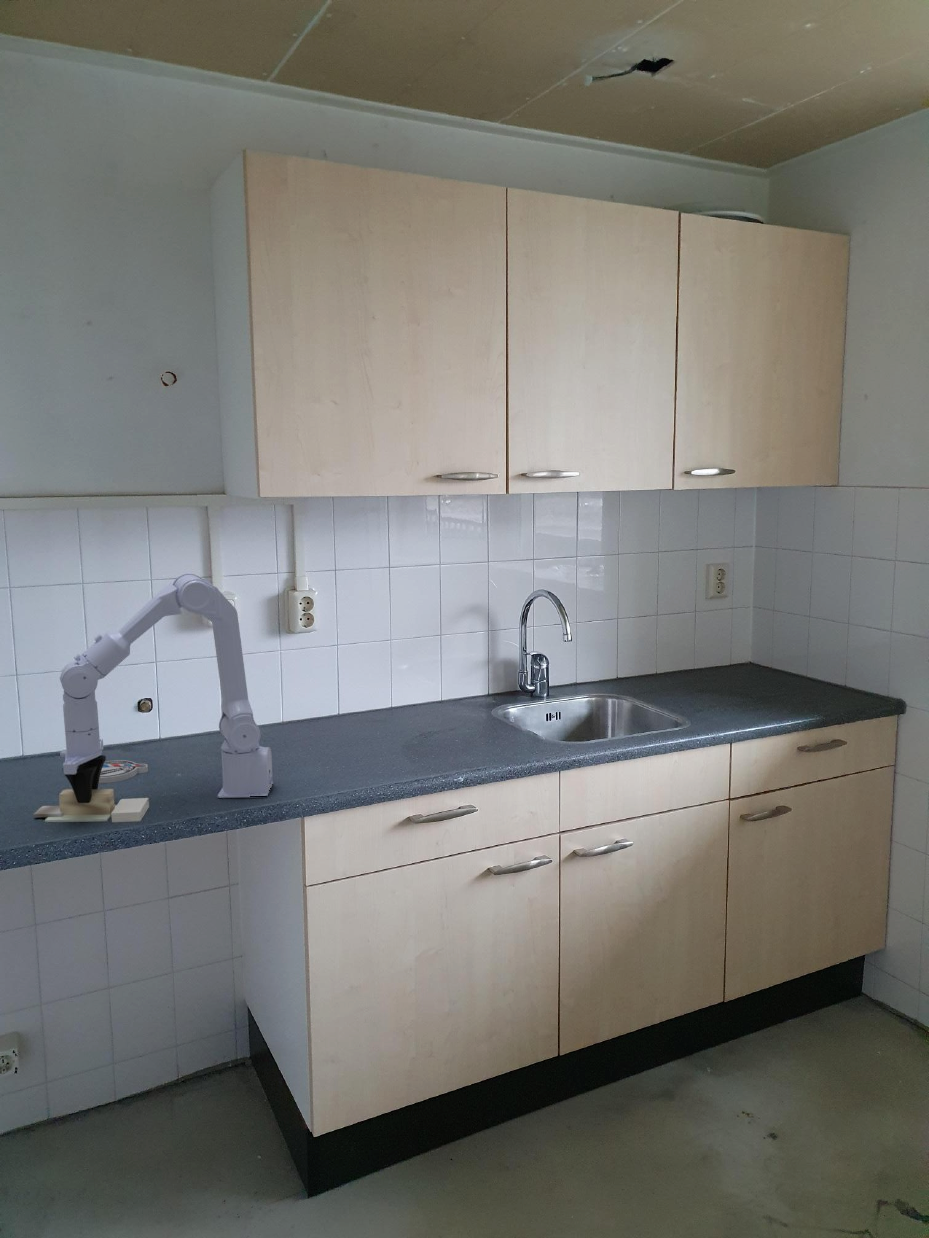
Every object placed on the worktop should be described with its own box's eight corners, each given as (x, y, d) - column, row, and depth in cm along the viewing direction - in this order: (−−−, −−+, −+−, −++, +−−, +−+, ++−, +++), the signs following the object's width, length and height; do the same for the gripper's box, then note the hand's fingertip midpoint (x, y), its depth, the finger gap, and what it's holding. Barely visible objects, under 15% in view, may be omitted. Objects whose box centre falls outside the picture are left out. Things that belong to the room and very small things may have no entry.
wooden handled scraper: (116, 807, 174) (114, 787, 173) (108, 815, 170) (107, 795, 169) (42, 808, 173) (41, 788, 173) (33, 817, 169) (31, 796, 169)
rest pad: (119, 806, 175) (119, 804, 175) (106, 821, 168) (106, 819, 168) (60, 807, 175) (59, 805, 175) (44, 822, 168) (44, 820, 168)
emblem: (151, 770, 192) (72, 782, 185) (151, 778, 192) (73, 790, 185) (140, 754, 203) (66, 764, 196) (141, 761, 203) (67, 772, 196)
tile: (148, 797, 175) (139, 811, 168) (149, 808, 176) (140, 822, 169) (121, 799, 175) (111, 813, 168) (121, 809, 175) (112, 824, 168)
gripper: (74, 717, 176) (79, 785, 178) (43, 739, 162) (49, 814, 164) (112, 716, 176) (117, 785, 178) (84, 739, 162) (89, 813, 164)
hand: (87, 799), depth 171 cm, fingers closed on wooden handled scraper, 2 cm apart
